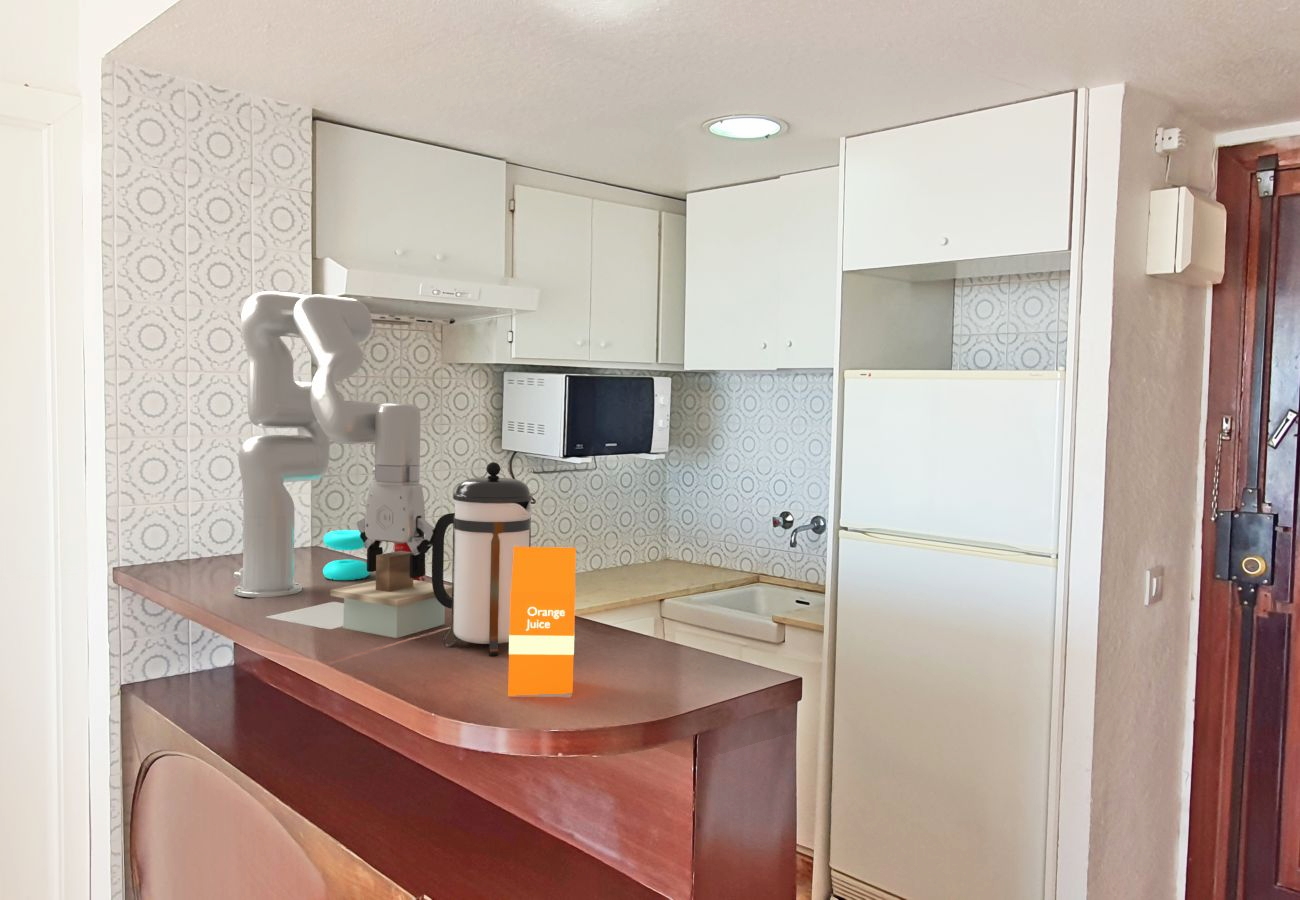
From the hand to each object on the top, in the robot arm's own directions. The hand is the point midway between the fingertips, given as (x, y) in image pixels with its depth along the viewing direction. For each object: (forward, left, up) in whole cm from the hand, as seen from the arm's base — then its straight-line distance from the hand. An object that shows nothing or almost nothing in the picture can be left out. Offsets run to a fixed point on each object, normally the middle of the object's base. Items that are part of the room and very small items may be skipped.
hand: (395, 573), depth 165 cm
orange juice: (+41, -15, -10) cm, 45 cm away
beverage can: (-12, +17, -10) cm, 23 cm away
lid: (0, 0, -4) cm, 4 cm away
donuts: (-41, +29, -10) cm, 51 cm away
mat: (-15, 0, -10) cm, 18 cm away
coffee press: (+19, 0, -10) cm, 21 cm away
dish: (0, 0, -10) cm, 10 cm away
